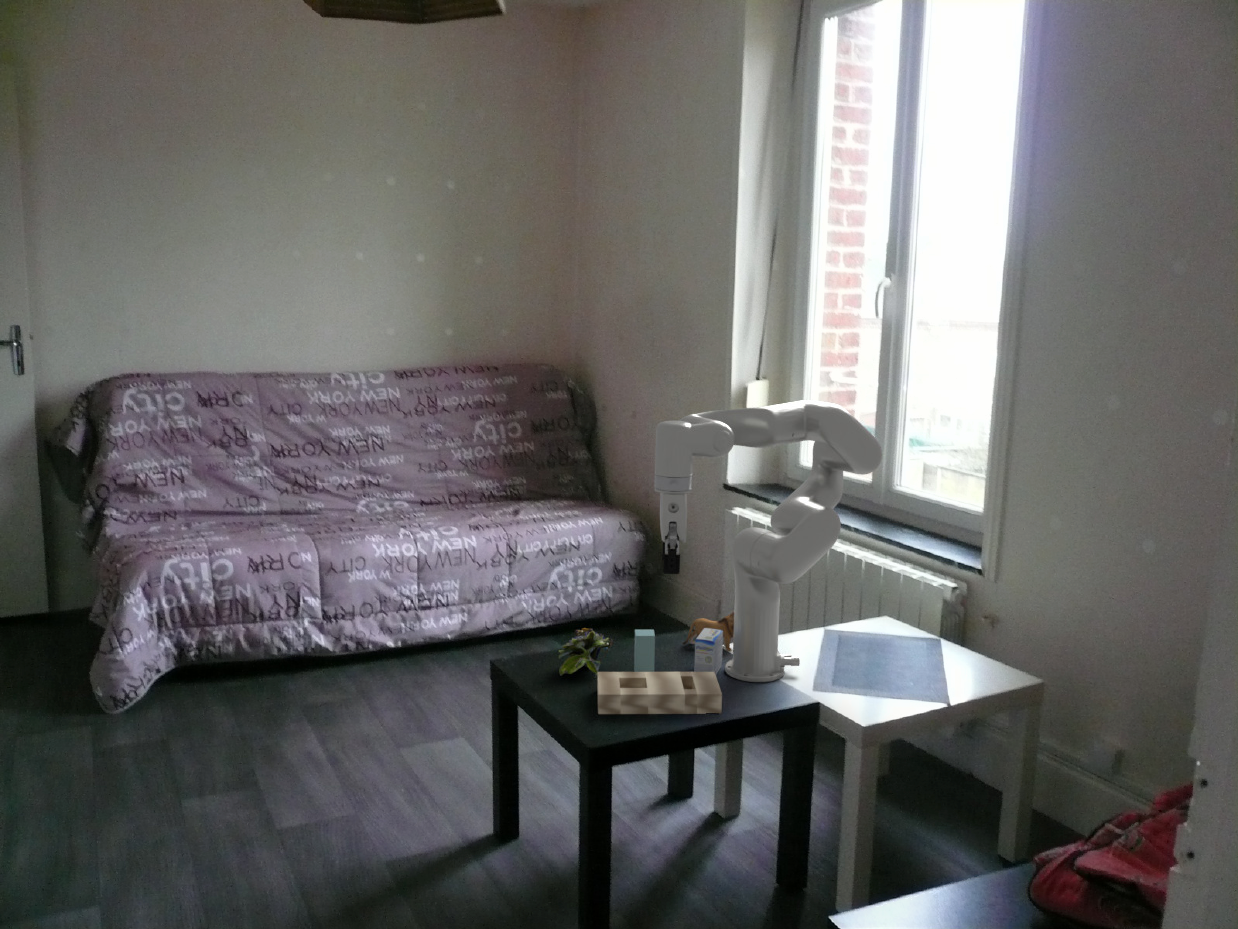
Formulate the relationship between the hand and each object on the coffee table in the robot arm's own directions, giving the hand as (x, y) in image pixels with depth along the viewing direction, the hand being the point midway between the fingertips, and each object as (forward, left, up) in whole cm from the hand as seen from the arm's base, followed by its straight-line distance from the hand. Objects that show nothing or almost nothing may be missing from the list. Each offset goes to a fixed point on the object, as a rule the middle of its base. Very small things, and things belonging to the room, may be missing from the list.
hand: (670, 567), depth 216 cm
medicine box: (-9, -10, -27) cm, 30 cm away
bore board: (+2, +6, -26) cm, 27 cm away
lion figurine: (-13, -26, -27) cm, 40 cm away
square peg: (+5, -7, -26) cm, 28 cm away
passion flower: (+17, -10, -27) cm, 33 cm away
